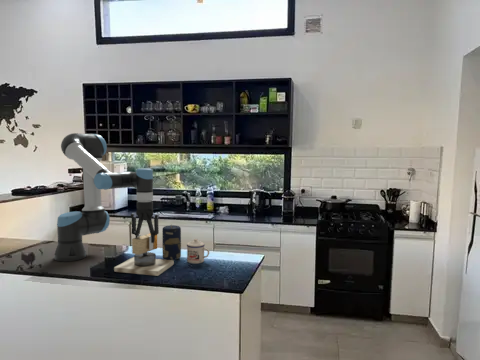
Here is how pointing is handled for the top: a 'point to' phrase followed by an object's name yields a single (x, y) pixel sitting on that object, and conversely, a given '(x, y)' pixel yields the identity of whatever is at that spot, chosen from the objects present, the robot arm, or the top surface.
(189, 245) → the teacup with lid
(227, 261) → the top surface
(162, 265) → the base plate
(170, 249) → the canister
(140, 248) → the yellow block on stand
